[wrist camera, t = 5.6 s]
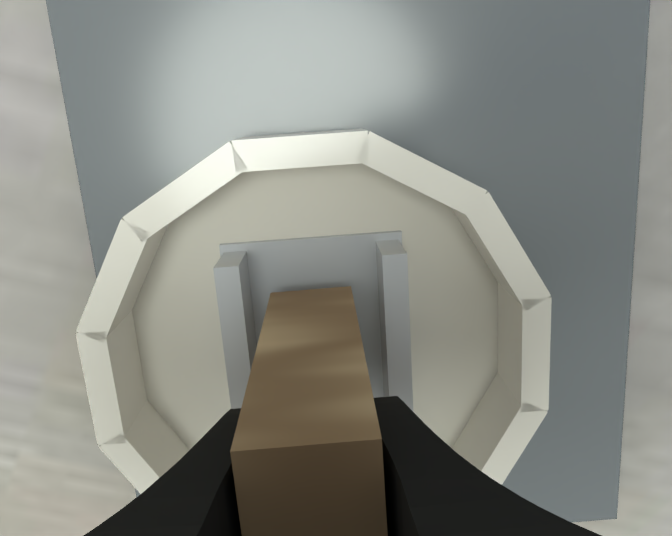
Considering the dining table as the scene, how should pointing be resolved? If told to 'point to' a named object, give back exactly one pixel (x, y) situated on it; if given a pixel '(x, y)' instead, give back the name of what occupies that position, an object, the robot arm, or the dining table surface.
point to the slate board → (411, 134)
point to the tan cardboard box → (309, 424)
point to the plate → (315, 273)
